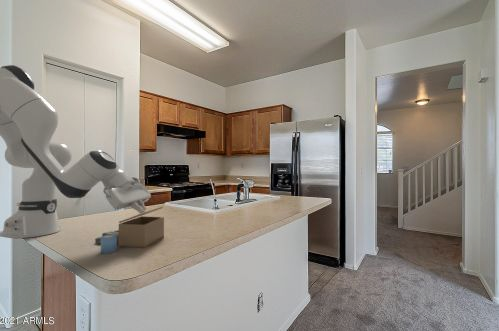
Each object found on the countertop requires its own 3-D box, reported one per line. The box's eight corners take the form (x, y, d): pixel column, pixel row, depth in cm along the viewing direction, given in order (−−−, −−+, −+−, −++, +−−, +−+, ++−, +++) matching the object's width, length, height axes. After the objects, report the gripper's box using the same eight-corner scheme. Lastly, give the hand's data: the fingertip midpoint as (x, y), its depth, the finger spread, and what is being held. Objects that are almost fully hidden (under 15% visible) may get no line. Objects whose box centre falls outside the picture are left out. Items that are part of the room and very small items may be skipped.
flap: (119, 223, 89) (118, 221, 89) (142, 215, 103) (141, 213, 103) (142, 214, 88) (142, 212, 88) (162, 207, 102) (162, 206, 102)
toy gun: (126, 224, 116) (155, 223, 114) (126, 231, 116) (155, 230, 113) (79, 239, 92) (115, 237, 89) (79, 247, 92) (115, 246, 89)
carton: (118, 246, 89) (118, 224, 89) (141, 235, 103) (141, 216, 103) (144, 247, 88) (144, 224, 88) (163, 236, 102) (163, 216, 102)
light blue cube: (97, 253, 82) (97, 237, 82) (107, 248, 87) (107, 234, 87) (110, 254, 82) (110, 238, 82) (120, 249, 86) (120, 234, 86)
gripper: (106, 181, 86) (133, 211, 85) (140, 178, 106) (162, 201, 105) (95, 194, 87) (121, 223, 86) (130, 188, 107) (152, 212, 106)
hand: (143, 211), depth 96 cm, fingers closed, pressing on flap
